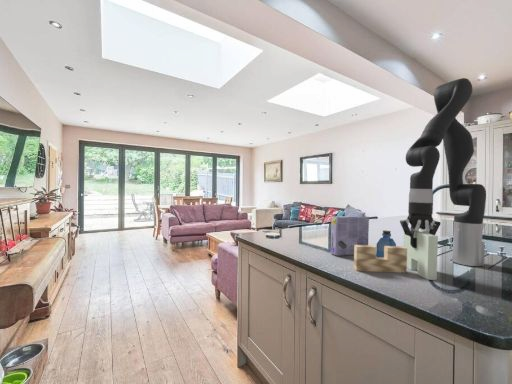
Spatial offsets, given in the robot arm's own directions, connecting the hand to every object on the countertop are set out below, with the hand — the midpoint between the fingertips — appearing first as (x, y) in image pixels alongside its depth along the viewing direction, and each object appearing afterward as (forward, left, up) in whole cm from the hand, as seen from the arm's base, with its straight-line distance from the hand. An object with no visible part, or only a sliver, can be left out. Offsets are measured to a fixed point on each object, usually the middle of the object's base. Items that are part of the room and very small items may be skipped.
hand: (419, 247), depth 93 cm
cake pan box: (+18, -23, -9) cm, 31 cm away
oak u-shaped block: (+14, 0, -9) cm, 17 cm away
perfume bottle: (+4, -18, -9) cm, 21 cm away
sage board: (0, 0, -9) cm, 9 cm away
